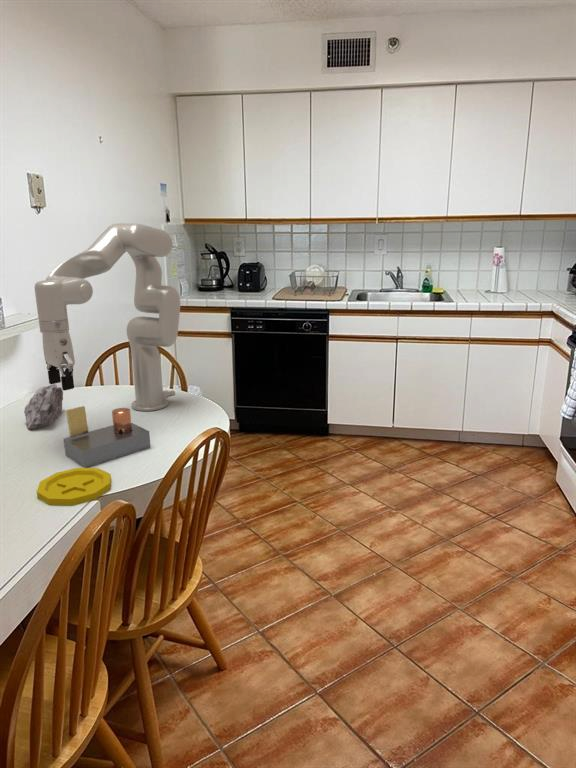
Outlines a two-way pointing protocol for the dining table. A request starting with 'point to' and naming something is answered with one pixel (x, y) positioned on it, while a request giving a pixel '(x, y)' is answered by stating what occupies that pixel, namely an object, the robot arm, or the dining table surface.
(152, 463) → the dining table surface
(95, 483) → the decorative disc
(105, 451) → the plate
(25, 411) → the rock
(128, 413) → the small bottle
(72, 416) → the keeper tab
